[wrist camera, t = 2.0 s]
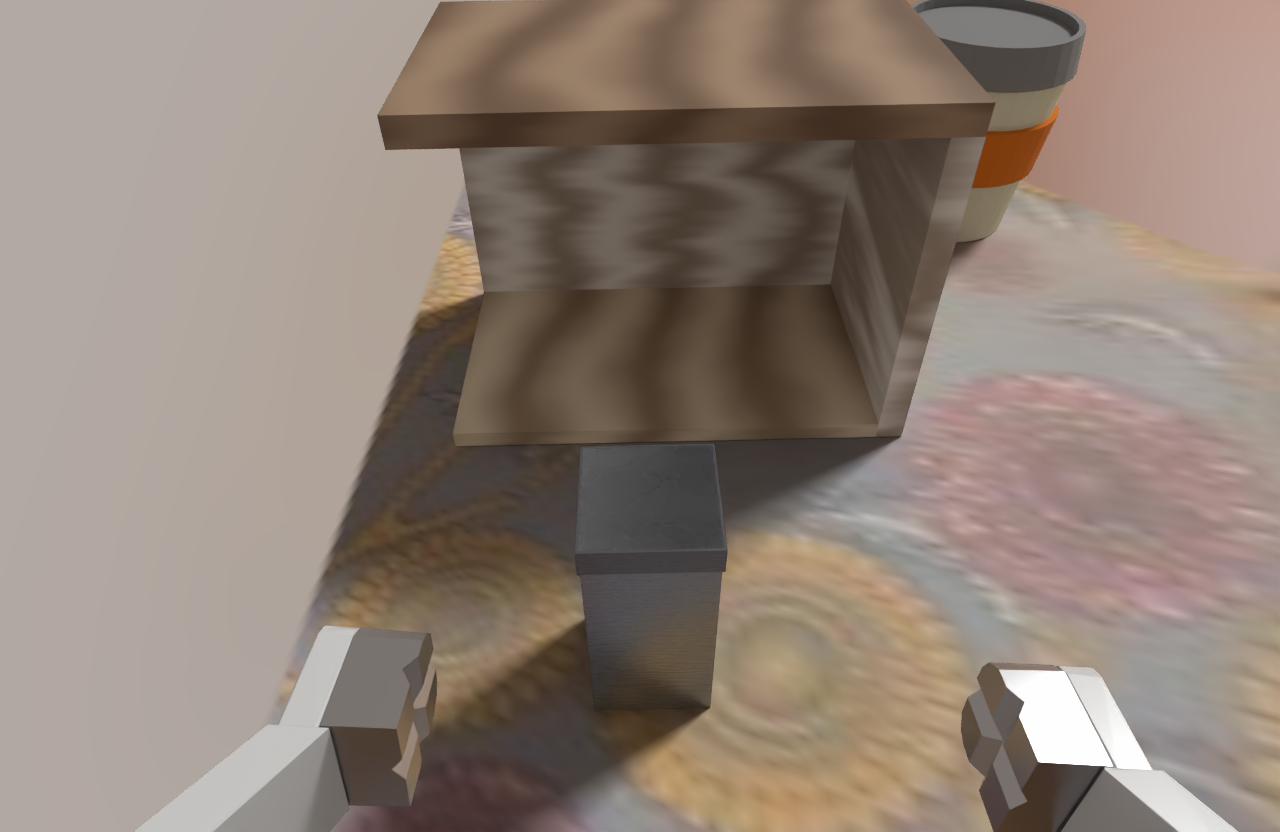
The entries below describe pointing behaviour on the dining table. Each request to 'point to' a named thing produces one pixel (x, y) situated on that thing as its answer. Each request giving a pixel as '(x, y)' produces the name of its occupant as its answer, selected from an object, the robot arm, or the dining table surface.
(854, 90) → the wooden cubby shelf
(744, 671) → the dining table surface
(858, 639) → the dining table surface
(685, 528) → the tea tin
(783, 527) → the dining table surface
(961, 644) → the dining table surface
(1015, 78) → the reusable coffee cup
